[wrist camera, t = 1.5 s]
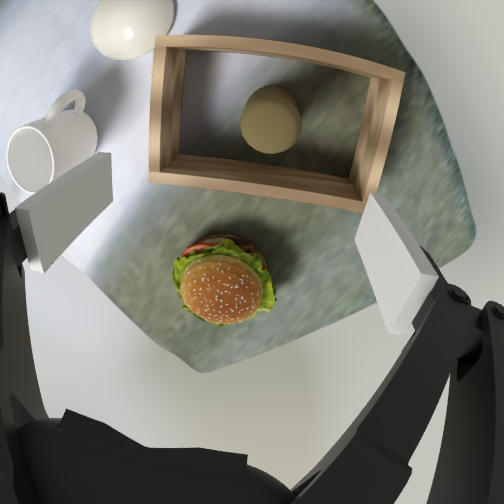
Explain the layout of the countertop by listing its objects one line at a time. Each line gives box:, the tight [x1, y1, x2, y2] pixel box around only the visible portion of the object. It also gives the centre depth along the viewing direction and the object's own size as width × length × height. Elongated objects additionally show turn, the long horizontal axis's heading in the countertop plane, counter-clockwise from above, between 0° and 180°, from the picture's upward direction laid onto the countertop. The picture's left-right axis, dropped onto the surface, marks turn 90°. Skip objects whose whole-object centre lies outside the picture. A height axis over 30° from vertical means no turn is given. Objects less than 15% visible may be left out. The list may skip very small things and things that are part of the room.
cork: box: [240, 86, 302, 154], centre depth 28 cm, size 6×6×11 cm
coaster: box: [91, 0, 175, 60], centre depth 26 cm, size 11×11×1 cm
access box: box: [149, 35, 405, 213], centre depth 29 cm, size 15×23×7 cm, turn 83°
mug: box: [7, 90, 98, 194], centre depth 29 cm, size 12×8×10 cm
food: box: [171, 235, 276, 327], centre depth 42 cm, size 14×14×8 cm
